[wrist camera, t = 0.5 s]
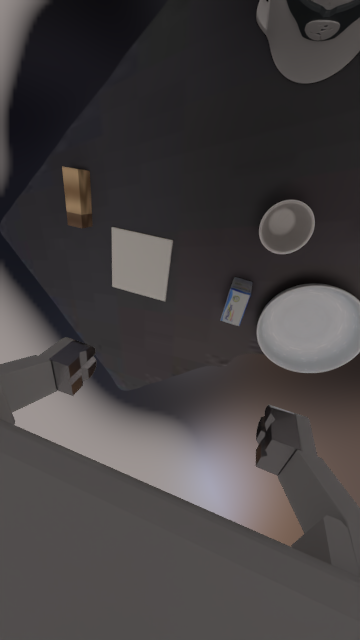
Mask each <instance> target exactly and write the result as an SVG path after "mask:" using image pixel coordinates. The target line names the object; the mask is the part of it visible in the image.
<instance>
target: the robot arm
mask: <svg viewBox="0 0 360 640" xmlns="http://www.w3.org/2000/svg"><path fill="white" fill-rule="evenodd" d="M256 20H257V23H258V25H259V27H260V28H261V30H262V31H263V32H264V33H265V35H266V36H267V38H268V41H269V45H270V50H271V54H272V58H273V60H274V63H275V65H276V67H277V68H278V70H279V71H280V72H281V73H282V74H283V75H284V76H285V77H286V78H288V79H289V80H291V81H294V82H297V83H314V82H318V81H321V80H324V79H326V78H328V77H330V76H332V75H334V74H335V73H337V72H338V71H339V70H341V69H342V68H343V67H344V66H346V65H347V64H348V63H349V62H350V61H351V60H352V59H353V58H354V57H355V56H356V55H357V53H358V52H359V51H360V0H268V2H267V1H266V0H260V1H259V4H258V7H257V13H256ZM95 354H96V351H95V348H94V347H93V346H90V345H87V344H85V343H82V342H79V341H76V340H73V339H70V338H67V337H66V338H63V339H61V340H60V341H58V342H57V343H56V344H54V345H53V346H51V347H50V348H49V349H48V350H46V351H44V352H43V353H42V354H40V355H39V356H37V355H34V356H30V357H26V358H23V359H19V360H15V361H12V362H8V363H4V364H0V640H360V508H359V507H358V505H357V504H356V503H355V501H354V500H353V499H352V497H351V496H350V495H349V493H348V492H347V491H346V489H345V488H344V487H343V486H342V484H341V483H340V482H339V480H338V479H337V478H336V476H335V475H334V474H333V472H332V471H331V470H330V469H329V467H328V466H327V465H326V463H325V462H324V461H323V459H321V458H320V457H317V452H316V448H315V444H314V439H313V435H312V430H311V425H310V421H309V419H308V417H305V416H302V415H298V414H296V413H293V412H290V411H286V410H283V409H280V408H277V407H274V406H271V405H268V406H267V407H266V409H265V416H264V417H261V419H260V421H259V424H258V428H257V433H256V440H257V442H258V444H259V446H258V447H257V449H256V467H258V468H261V469H263V470H266V471H268V472H270V473H273V474H275V475H277V476H278V479H279V481H280V483H281V485H282V487H283V489H284V491H285V493H286V496H287V498H288V500H289V502H290V504H291V506H292V508H293V510H294V512H295V515H296V516H297V519H298V521H299V523H300V525H301V527H302V529H303V531H304V535H303V536H302V537H301V538H299V539H298V540H297V541H296V542H295V543H294V544H292V547H290V546H287V545H285V544H283V543H281V542H278V541H276V540H274V539H271V538H269V537H267V536H265V535H263V534H260V533H258V532H256V531H253V530H251V529H249V528H247V527H244V526H242V525H240V524H237V523H235V522H233V521H231V520H228V519H226V518H224V517H222V516H219V515H217V514H215V513H213V512H210V511H208V510H206V509H203V508H201V507H199V506H197V505H194V504H192V503H190V502H188V501H185V500H183V499H181V498H179V497H176V496H174V495H172V494H169V493H167V492H165V491H162V490H160V489H158V488H156V487H153V486H151V485H149V484H147V483H144V482H142V481H140V480H137V479H135V478H133V477H131V476H129V475H126V474H124V473H122V472H120V471H117V470H115V469H113V468H111V467H108V466H106V465H104V464H101V463H99V462H97V461H95V460H92V459H90V458H88V457H85V456H83V455H81V454H79V453H76V452H74V451H72V450H70V449H67V448H65V447H63V446H61V445H58V444H56V443H54V442H51V441H49V440H47V439H44V438H42V437H40V436H38V435H36V434H33V433H30V432H29V431H26V430H24V429H22V428H20V427H17V426H15V425H14V424H15V420H14V417H13V415H12V412H14V411H16V410H18V409H20V408H23V407H25V406H27V405H29V404H31V403H33V402H35V401H37V400H39V399H41V398H43V397H46V396H48V395H50V394H52V393H54V392H56V391H57V390H59V391H61V392H64V393H67V394H69V395H72V396H73V395H74V394H75V393H76V392H77V391H78V390H79V389H80V388H81V386H83V381H85V380H87V379H89V378H90V377H91V376H92V375H93V373H94V371H95V369H96V359H95V358H94V357H93V356H94V355H95Z"/></svg>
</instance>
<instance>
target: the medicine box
mask: <svg viewBox="0 0 360 640" xmlns="http://www.w3.org/2000/svg"><path fill="white" fill-rule="evenodd" d="M251 290H252V282H251V281H247V280H244V279H240V278H237V277H234V279H233V282H232V285H231V288H230V291H229V294H228V297H227V300H226V303H225V307H224V310H223V313H222V316H221V319H220V320H221V321H224V322H227V323H230V324H234V325H237V326H239V325H240V323H241V320H242V317H243V315H244V312H245V309H246V307H247V304H248V301H249V299H250V296H251Z"/></svg>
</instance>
